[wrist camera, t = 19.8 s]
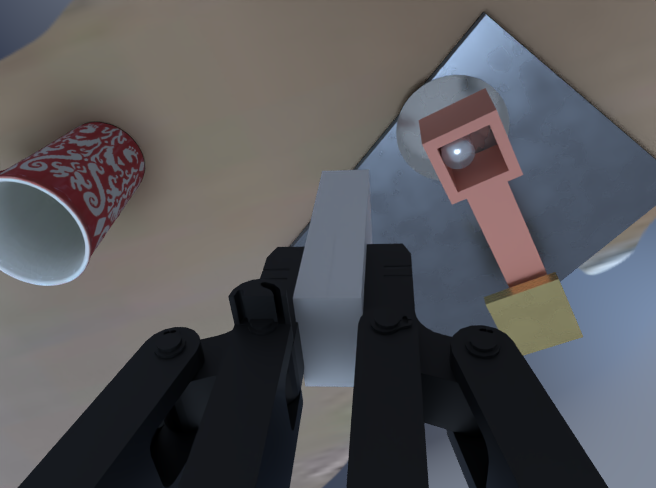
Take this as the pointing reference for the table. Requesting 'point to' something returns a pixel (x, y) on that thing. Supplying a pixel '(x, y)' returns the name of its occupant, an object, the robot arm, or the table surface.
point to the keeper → (534, 314)
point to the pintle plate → (529, 189)
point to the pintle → (458, 153)
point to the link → (485, 183)
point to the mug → (65, 202)
